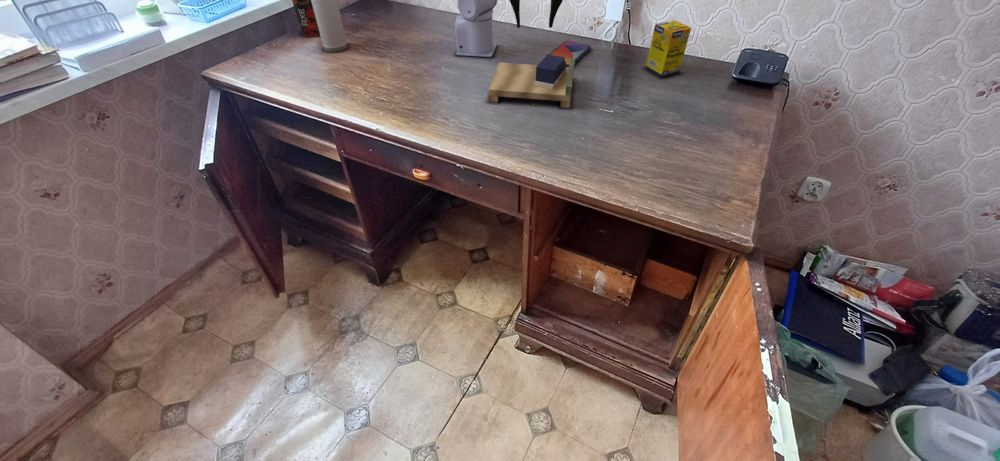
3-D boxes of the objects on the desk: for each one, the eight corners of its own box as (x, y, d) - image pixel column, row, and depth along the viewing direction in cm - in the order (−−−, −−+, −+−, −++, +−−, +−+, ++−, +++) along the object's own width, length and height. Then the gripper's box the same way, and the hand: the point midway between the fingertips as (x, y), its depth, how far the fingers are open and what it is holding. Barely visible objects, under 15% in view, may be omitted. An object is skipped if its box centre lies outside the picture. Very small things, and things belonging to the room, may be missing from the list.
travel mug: (318, 50, 125) (295, -33, 111) (333, 41, 129) (313, -40, 116) (337, 54, 123) (317, -30, 109) (352, 45, 128) (334, -37, 114)
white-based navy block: (553, 89, 102) (554, 71, 99) (534, 85, 103) (535, 67, 100) (566, 72, 108) (567, 54, 105) (548, 69, 109) (549, 51, 106)
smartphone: (591, 49, 125) (591, 45, 124) (569, 69, 115) (569, 65, 115) (565, 44, 128) (566, 40, 127) (542, 63, 118) (542, 59, 117)
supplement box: (661, 78, 112) (672, 32, 105) (644, 68, 116) (654, 23, 108) (679, 73, 114) (692, 27, 107) (663, 63, 118) (673, 19, 110)
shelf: (488, 101, 104) (488, 80, 101) (499, 74, 114) (498, 54, 111) (569, 108, 102) (571, 86, 99) (572, 79, 112) (575, 59, 109)
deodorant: (301, 37, 132) (284, -21, 121) (302, 30, 136) (286, -27, 125) (322, 35, 133) (307, -22, 122) (323, 28, 137) (308, -29, 126)
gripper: (568, -43, 105) (563, 20, 115) (504, -43, 105) (504, 20, 115) (571, -34, 100) (565, 31, 109) (504, -34, 100) (504, 30, 110)
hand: (534, 26), depth 112 cm, fingers open, 7 cm apart
